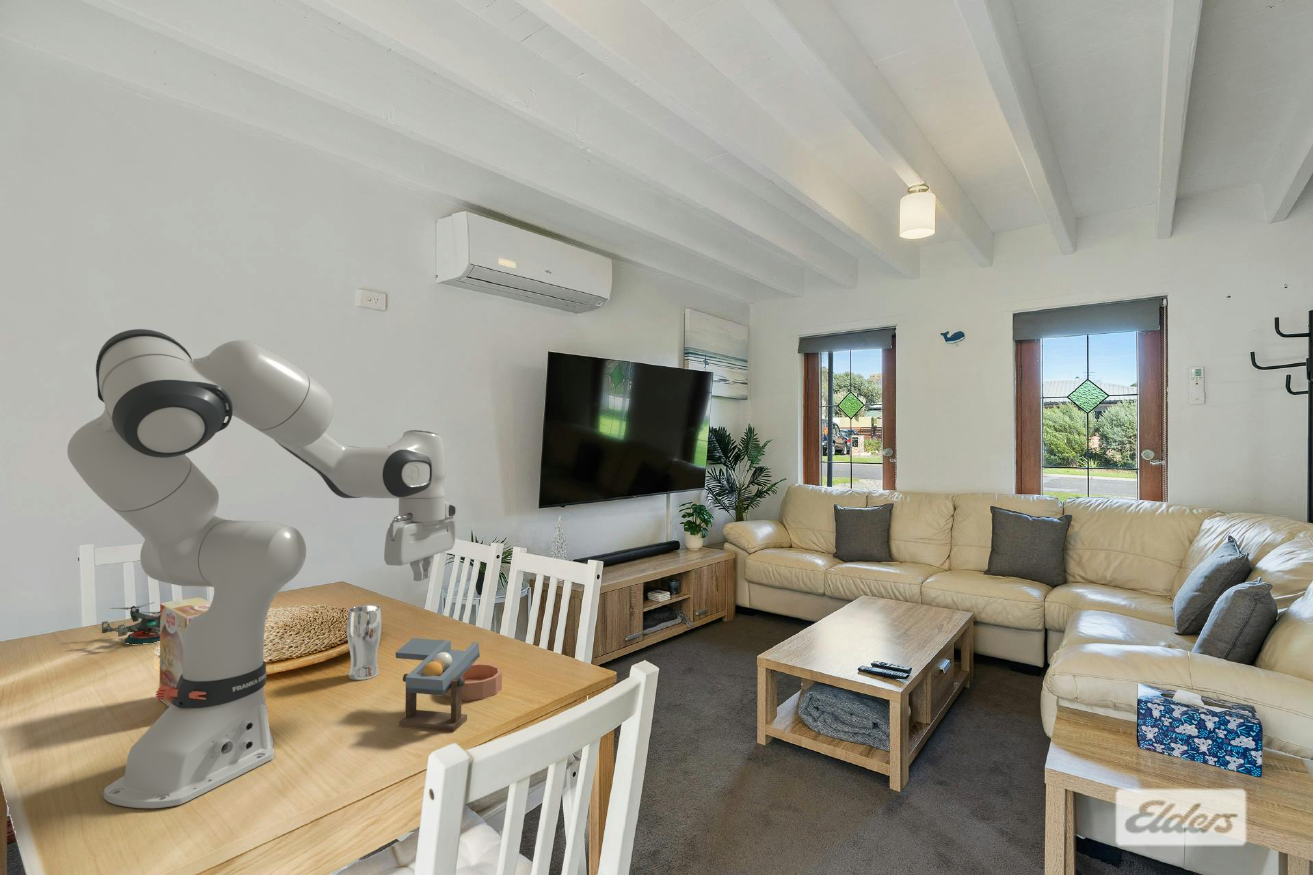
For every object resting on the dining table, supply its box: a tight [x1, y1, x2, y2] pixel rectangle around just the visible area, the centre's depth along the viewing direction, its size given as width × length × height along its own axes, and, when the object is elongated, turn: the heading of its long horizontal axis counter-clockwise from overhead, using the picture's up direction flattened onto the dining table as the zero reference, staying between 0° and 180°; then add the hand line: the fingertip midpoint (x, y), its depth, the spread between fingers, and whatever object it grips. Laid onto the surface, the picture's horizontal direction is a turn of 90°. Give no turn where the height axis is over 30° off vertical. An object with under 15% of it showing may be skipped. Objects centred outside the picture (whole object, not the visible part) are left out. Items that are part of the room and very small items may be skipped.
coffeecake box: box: [158, 596, 212, 708], centre depth 123 cm, size 15×7×20 cm, turn 53°
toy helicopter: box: [101, 601, 160, 644], centre depth 161 cm, size 20×15×8 cm
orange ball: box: [423, 661, 443, 676], centre depth 114 cm, size 4×4×4 cm
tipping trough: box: [395, 637, 481, 696], centre depth 119 cm, size 14×15×3 cm
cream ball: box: [433, 652, 452, 671], centre depth 118 cm, size 4×4×4 cm
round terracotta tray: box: [446, 662, 503, 702], centre depth 130 cm, size 11×11×4 cm
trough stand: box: [398, 673, 468, 733], centre depth 115 cm, size 5×12×9 cm, turn 79°
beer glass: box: [346, 604, 382, 681], centre depth 138 cm, size 7×7×15 cm
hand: (421, 579), depth 124 cm, fingers closed
